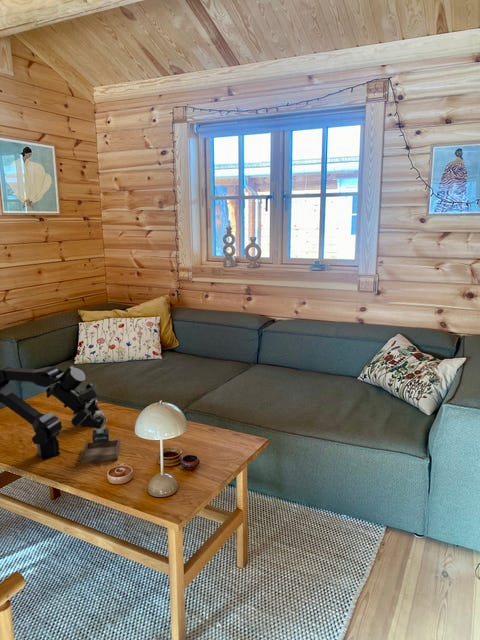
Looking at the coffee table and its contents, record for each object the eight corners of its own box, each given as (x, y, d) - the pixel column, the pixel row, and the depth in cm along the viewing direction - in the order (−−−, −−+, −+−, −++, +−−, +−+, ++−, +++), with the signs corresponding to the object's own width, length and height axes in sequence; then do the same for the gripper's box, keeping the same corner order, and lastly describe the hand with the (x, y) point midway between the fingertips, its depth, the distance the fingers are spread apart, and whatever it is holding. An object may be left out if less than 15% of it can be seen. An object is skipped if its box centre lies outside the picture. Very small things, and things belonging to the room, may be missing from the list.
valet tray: (81, 463, 166) (80, 457, 165) (86, 448, 177) (85, 442, 176) (117, 460, 168) (116, 453, 167) (120, 445, 179) (120, 438, 178)
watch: (92, 446, 167) (90, 417, 164) (93, 435, 174) (91, 408, 172) (108, 444, 168) (106, 415, 166) (109, 433, 176) (107, 406, 173)
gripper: (78, 389, 156) (114, 417, 160) (87, 371, 174) (119, 397, 178) (55, 413, 157) (92, 440, 161) (67, 392, 175) (100, 418, 179)
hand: (102, 422), depth 170 cm, fingers closed on watch, 8 cm apart
